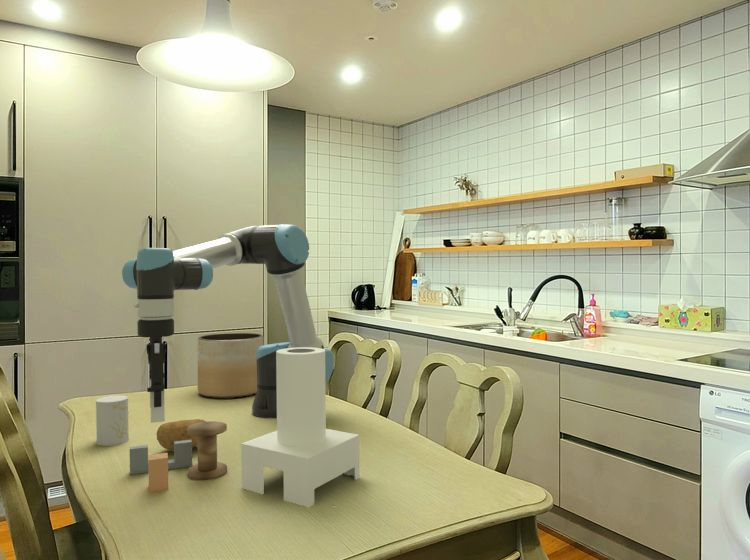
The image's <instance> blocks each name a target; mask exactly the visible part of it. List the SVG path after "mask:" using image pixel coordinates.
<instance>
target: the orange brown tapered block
mask: <svg viewBox="0 0 750 560" xmlns="http://www.w3.org/2000/svg"><path fill="white" fill-rule="evenodd" d="M168 461H169V455H168V452H161V453H154V454H148V472H147V473H148V492H149V493H153V492H159V491H166V490H169V469H168Z"/></svg>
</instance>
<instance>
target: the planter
mask: <svg viewBox="0 0 750 560" xmlns="http://www.w3.org/2000/svg"><path fill="white" fill-rule="evenodd" d="M263 345H264V335H263V334H262V333H255V332H224V333H221V332H220V333H211V334H204V335H201V336H198V337H197V392H198V393H199V394H200V395H202V396H204V397H206V398H210V397H212V399H235V398H234V397H239V398H244V397H243V396H246V397H249V396H248V395H250V396H254V395H256V392H257V360H256V358H257V350H258V348H259V347H260V346H263ZM253 394H254V395H253Z"/></svg>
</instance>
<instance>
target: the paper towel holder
mask: <svg viewBox="0 0 750 560" xmlns="http://www.w3.org/2000/svg"><path fill="white" fill-rule="evenodd" d="M325 349H326V348H324V349H322V348H313V347H296V348H285V349H280V350H277V351H276V378H277V417H276V430H275V431H271V432H268V433H266V434H264V435H261V436H258V437H256V438H253V439H249V440H247V441H245V442H241V444H240V453H241V455H240V456H241V459H240V460H241V465H240V466H241V489H242V488H243V490H245V489H247V491H249V490H251V491H250V492H252V491H254V492H253V493H256V492H258V493H257V494H259V493H261V494H260V495H263V494H264V495H265V491H264V490H265V489H264V487H265V486H264V483H265V482H264V481H265V480H264V479H265V477H264V473H265V472H264V467H265V468H270V469H275V470H279V471H282V472H283V501H284V500H286V501H285V502H288V501H289V502H288V503H291V502H293V503H292V504H295V503H296V504H295V505H298V504H300V506H302V505H304V506H303V507H305V506H308V507H307V508H310V507H311V505H312V504H313V505H315V489H317V488H319V487H321V486H323V485H324V484H327V483H328V482H330V481H331V480H333V479H335V478H337V477H339V476H342V475H346V474H349V475H348V476H350V475H353V476H352V477H354V480H355V479H356V480H358V479H359V477H360V475H361V474H360V468H361V467H360V434H357V433H351V432H346V431H341V430H335V429H331V428H326V427H327V426H326V425H327V424H326V421H327V418H326V415H327V414H326V412H327V410H326V407H327V406H326V405H327V404H326V401H327V400H326V383H325ZM343 473H344V474H343ZM357 478H358V479H357ZM360 478H361V477H360ZM313 505H312V506H313ZM309 506H310V507H309Z"/></svg>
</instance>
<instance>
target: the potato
mask: <svg viewBox="0 0 750 560" xmlns="http://www.w3.org/2000/svg"><path fill="white" fill-rule="evenodd" d="M200 422H207V421H206V420H203V419H201V418H198V419H196V418H195V419H182V420H181V419H180V420H176V421H170V422H164V423H163V424H161V425H160V426H158V428H157V431H156V440H157V442H158V443H159V445H160V446H161V447H162V448H163V449H165V450H168V451H169V452H170V451H171V452H174V442H175V441H184V440H192V449H194V448H196V447H198V444H197V436H191V435H188V434H187V427H188V426H190V425H192V424H196V423H200Z"/></svg>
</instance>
